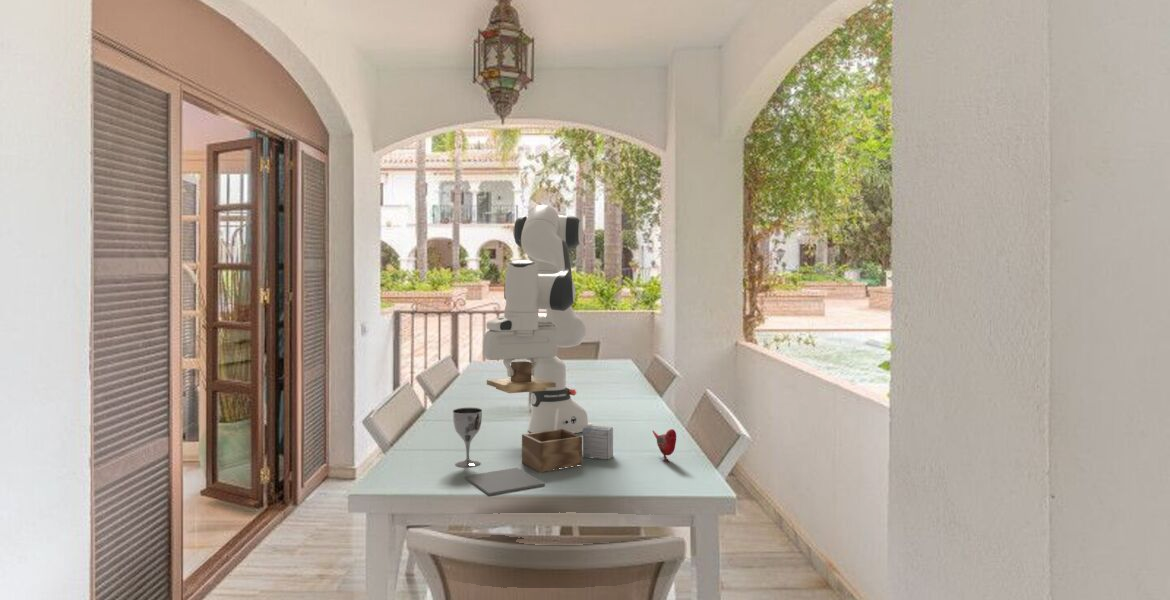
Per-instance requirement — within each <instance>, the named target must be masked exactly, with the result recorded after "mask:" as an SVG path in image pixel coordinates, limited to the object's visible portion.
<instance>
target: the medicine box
mask: <svg viewBox="0 0 1170 600" xmlns="http://www.w3.org/2000/svg"><path fill="white" fill-rule="evenodd" d="M593 425H594V424H593ZM593 425H588V426H586V427H584V428H583V432H582V458H584V457H593V458H592V459H596V458H601V459H600V460H607V459H609V460H610V459H611V458H612V457H613V456H614V427H613V426H605V425H594V426H593Z"/></svg>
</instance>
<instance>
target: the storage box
mask: <svg viewBox="0 0 1170 600" xmlns="http://www.w3.org/2000/svg"><path fill="white" fill-rule="evenodd" d="M521 463H522V464H523V463H524V465H525V464H526V465H525V466H527V465H528V466H527V467H529V466H530V467H531V469H532V468H533V470H534V469H535V470H534V471H536V470H537V471H536V472H538V471H539V472H542V473H545V472H544V471H548V472H550V471H549V470H553V469H559V468H565V467H571V466H577V465H582V466H583V436H582V435H581V436H580V435H578V434H577V433H571V432H569V431H566V430H564V429H559V430H552V431H544V432H537V433H531V432H529V433H523V434H521ZM530 467H529V468H530ZM539 472H538V473H539Z"/></svg>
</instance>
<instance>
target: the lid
mask: <svg viewBox="0 0 1170 600" xmlns="http://www.w3.org/2000/svg"><path fill="white" fill-rule="evenodd" d="M510 366H511V368H512V369H514V370H515V377H509V378H497V379H494V378H493V379H486V386H487V385H488V386H491V387H492V388H495V389H496V390H499V391H501V392H504V393H507V394H518V393H519V394H520V393H531V392H535V391H546V388H553V387H556V383H555V382H551V381H548V380H544V379H540V378H537V377H532V376H531V371H532V362H531V361H527V360H516V361H515V360H514V361H512V363H511V364H510Z"/></svg>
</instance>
